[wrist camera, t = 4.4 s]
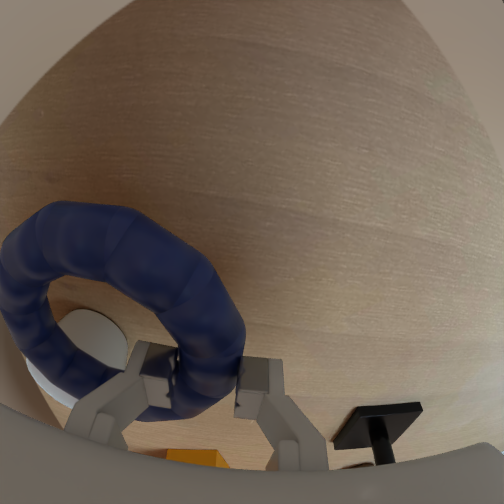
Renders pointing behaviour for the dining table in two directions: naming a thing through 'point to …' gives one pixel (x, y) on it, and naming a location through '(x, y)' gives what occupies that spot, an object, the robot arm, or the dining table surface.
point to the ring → (129, 283)
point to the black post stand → (377, 429)
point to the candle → (87, 347)
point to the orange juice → (197, 457)
